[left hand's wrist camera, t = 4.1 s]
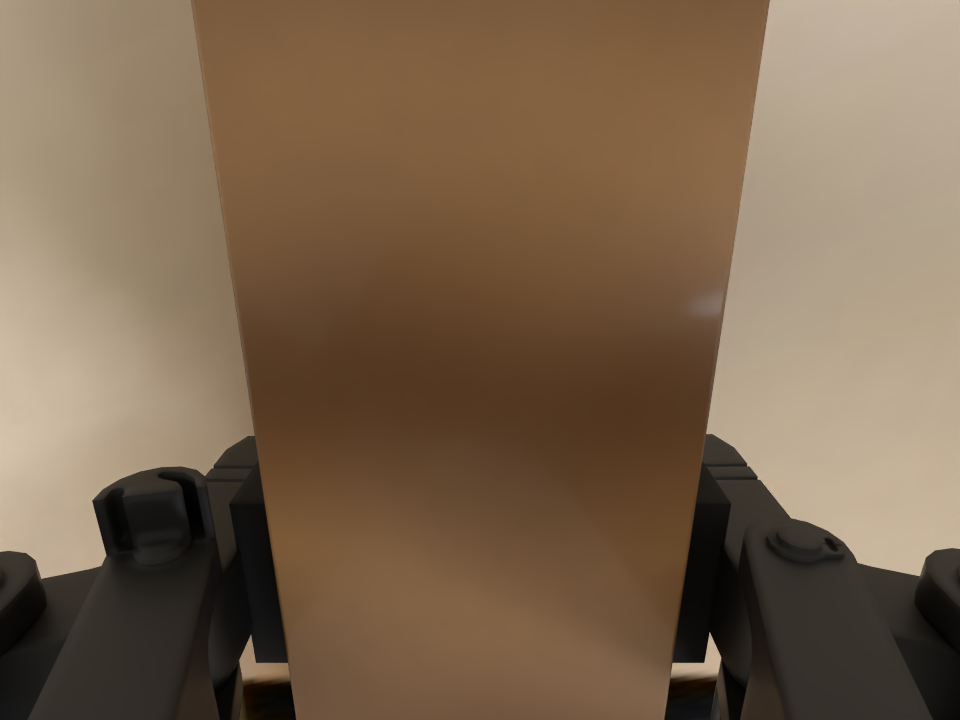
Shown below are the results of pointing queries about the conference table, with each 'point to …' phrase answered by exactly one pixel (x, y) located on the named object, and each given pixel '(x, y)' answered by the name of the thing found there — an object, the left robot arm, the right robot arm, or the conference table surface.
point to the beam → (480, 333)
